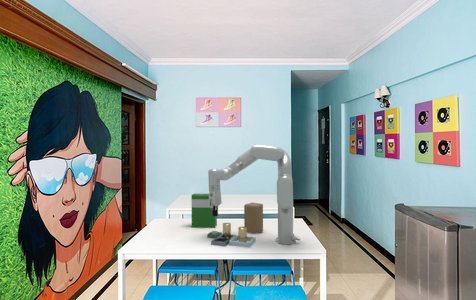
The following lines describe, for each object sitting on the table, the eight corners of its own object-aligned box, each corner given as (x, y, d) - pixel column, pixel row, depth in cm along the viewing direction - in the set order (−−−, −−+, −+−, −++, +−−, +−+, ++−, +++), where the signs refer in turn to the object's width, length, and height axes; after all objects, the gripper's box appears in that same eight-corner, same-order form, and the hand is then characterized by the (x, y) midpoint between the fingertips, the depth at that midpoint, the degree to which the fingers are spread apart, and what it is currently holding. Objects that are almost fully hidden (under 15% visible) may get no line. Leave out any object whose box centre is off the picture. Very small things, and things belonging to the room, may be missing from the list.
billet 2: (247, 243, 190) (247, 227, 190) (245, 245, 186) (245, 229, 185) (240, 242, 192) (240, 226, 192) (237, 244, 187) (237, 228, 187)
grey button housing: (221, 237, 205) (221, 232, 205) (217, 240, 198) (217, 235, 198) (212, 236, 207) (212, 231, 207) (207, 239, 201) (207, 234, 201)
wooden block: (251, 230, 222) (251, 202, 222) (263, 232, 216) (263, 203, 216) (243, 233, 214) (243, 204, 214) (256, 235, 208) (256, 205, 208)
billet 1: (231, 238, 198) (231, 223, 198) (228, 241, 193) (228, 225, 193) (224, 237, 200) (224, 222, 200) (221, 240, 195) (221, 224, 195)
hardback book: (216, 225, 235) (216, 193, 235) (215, 227, 228) (215, 195, 228) (193, 224, 237) (193, 193, 237) (191, 227, 230) (191, 195, 229)
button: (218, 235, 204) (218, 231, 204) (216, 237, 200) (216, 232, 200) (213, 235, 205) (213, 230, 205) (210, 236, 202) (210, 232, 202)
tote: (255, 242, 192) (255, 237, 192) (248, 249, 181) (248, 243, 181) (236, 240, 197) (236, 235, 197) (229, 246, 185) (229, 240, 185)
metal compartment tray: (223, 238, 203) (223, 233, 203) (236, 239, 199) (236, 235, 199) (211, 246, 186) (211, 241, 186) (225, 248, 183) (225, 243, 183)
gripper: (214, 189, 194) (215, 218, 194) (224, 186, 208) (225, 213, 208) (204, 189, 197) (204, 218, 197) (214, 186, 211) (215, 213, 211)
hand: (215, 215), depth 203 cm, fingers closed
